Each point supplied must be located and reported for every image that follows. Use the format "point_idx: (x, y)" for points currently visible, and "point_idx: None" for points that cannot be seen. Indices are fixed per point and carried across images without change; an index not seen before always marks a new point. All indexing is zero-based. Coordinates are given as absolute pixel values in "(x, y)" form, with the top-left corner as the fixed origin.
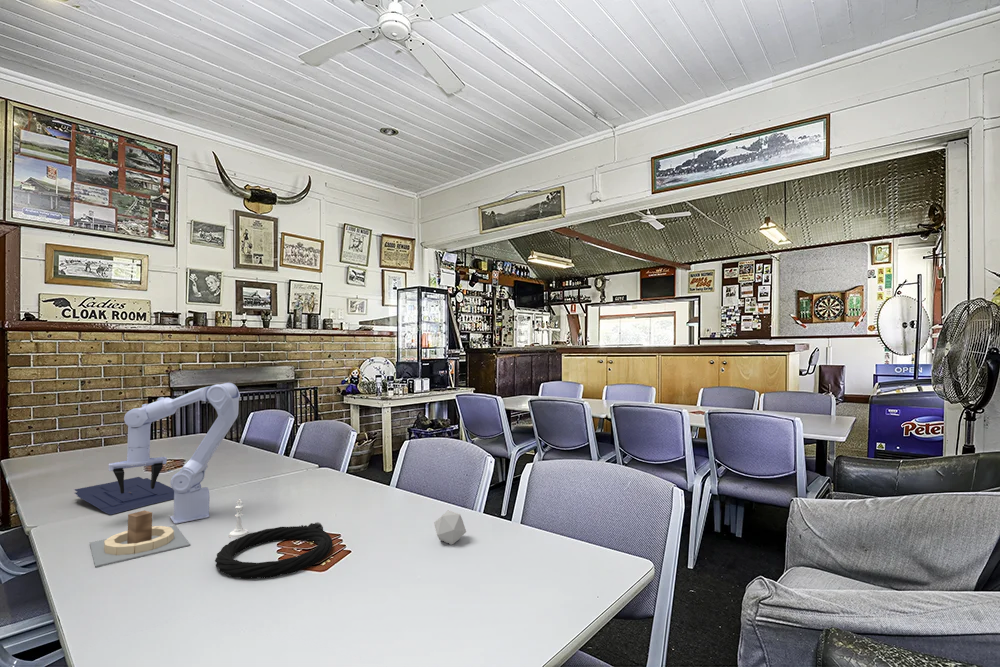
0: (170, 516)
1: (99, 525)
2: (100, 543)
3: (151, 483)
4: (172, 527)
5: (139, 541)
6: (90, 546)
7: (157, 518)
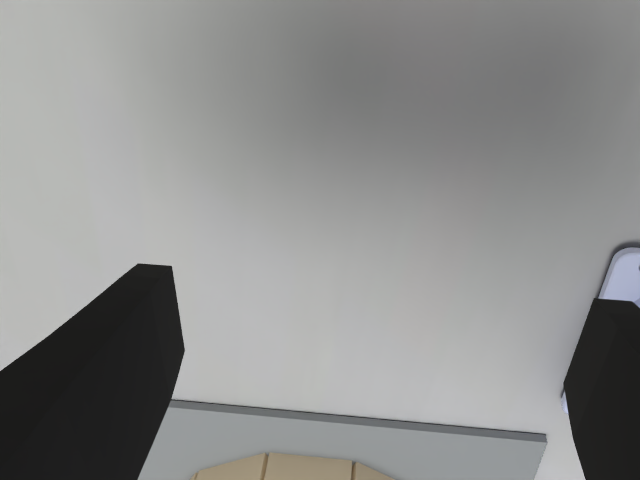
0: (620, 262)
1: (83, 10)
2: None
3: (602, 415)
4: (511, 465)
5: None
6: None
7: (542, 172)
